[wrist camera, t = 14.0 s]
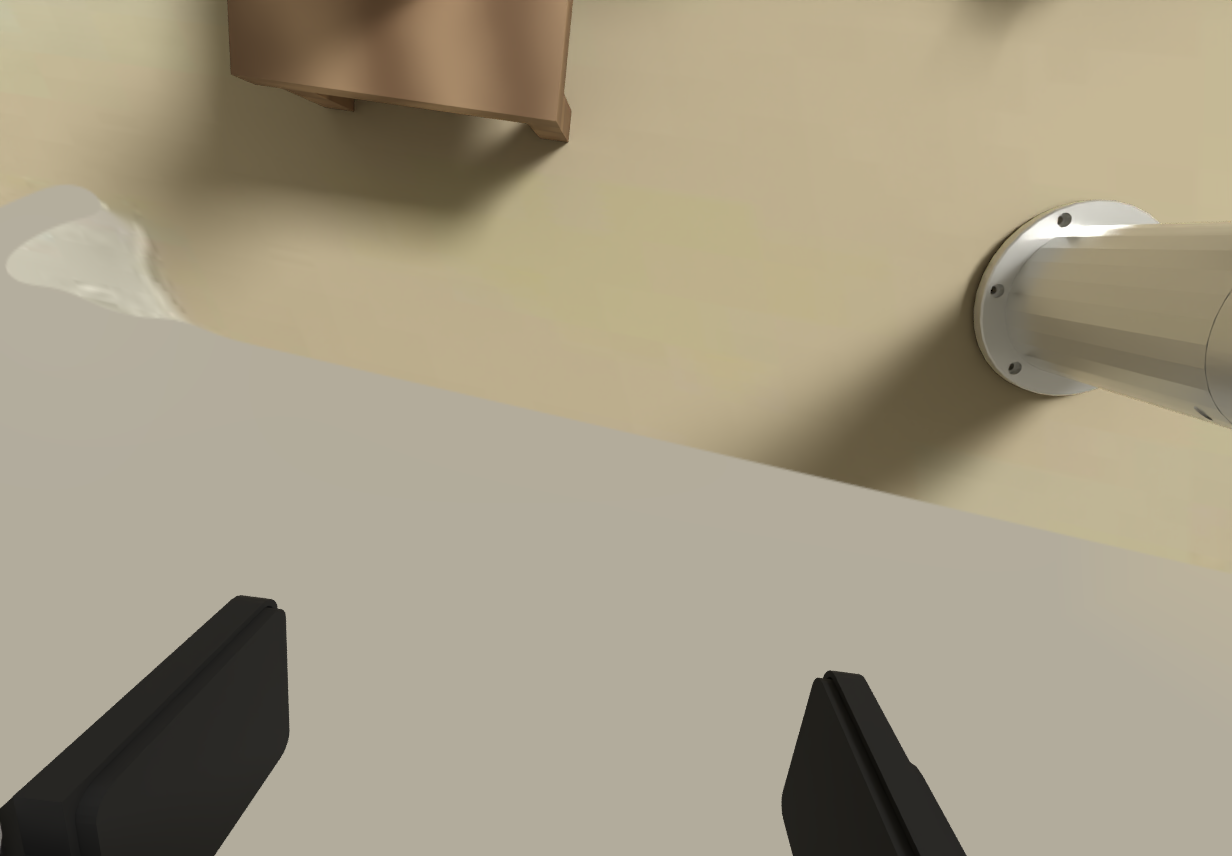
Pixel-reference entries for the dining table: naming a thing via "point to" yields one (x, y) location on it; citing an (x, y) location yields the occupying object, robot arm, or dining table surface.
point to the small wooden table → (412, 55)
